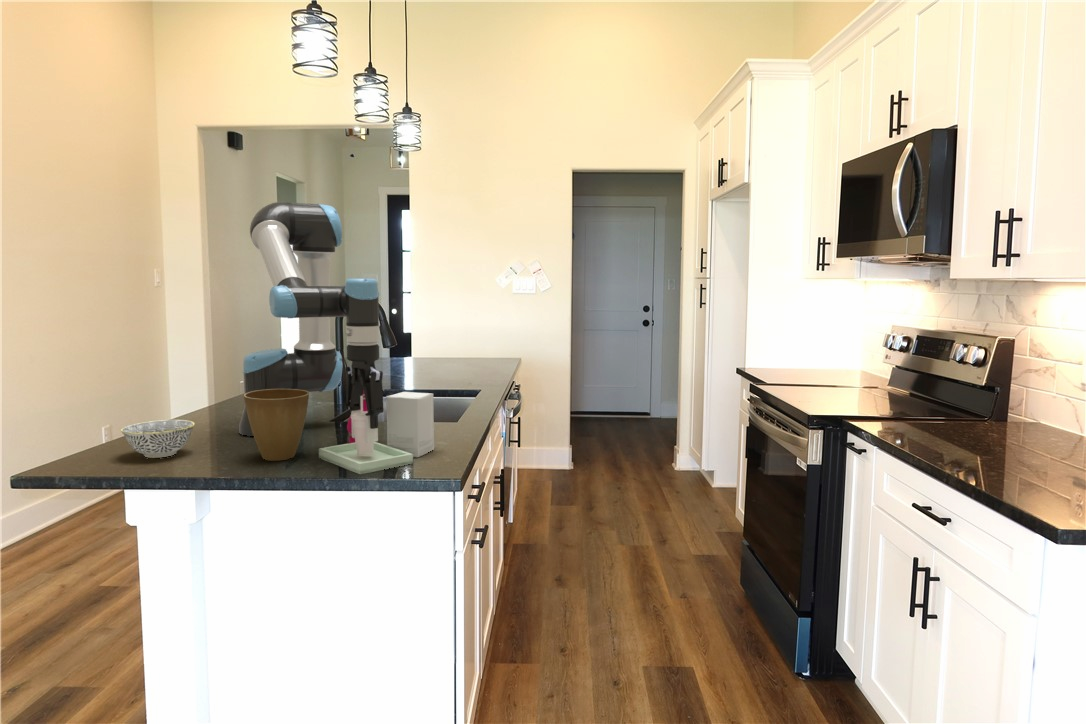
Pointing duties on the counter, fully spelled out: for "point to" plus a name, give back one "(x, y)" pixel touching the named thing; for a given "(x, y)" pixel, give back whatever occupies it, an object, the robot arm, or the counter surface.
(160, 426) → the bowl
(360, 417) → the smoothie
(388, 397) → the supplement box
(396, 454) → the tray
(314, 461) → the counter surface
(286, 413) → the plant pot
